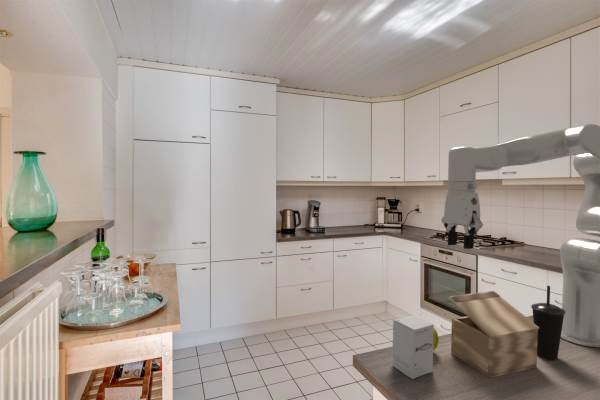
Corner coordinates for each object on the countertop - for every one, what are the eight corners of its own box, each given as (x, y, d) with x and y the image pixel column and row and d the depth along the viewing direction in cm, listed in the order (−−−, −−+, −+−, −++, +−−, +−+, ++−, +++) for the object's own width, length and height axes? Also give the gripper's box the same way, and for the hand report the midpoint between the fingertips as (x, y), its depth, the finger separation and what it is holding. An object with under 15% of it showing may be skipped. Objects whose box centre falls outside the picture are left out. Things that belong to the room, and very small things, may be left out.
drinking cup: (527, 356, 91) (529, 286, 91) (532, 346, 97) (534, 280, 96) (562, 366, 86) (565, 292, 85) (565, 355, 92) (567, 285, 91)
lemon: (440, 357, 90) (440, 329, 90) (419, 355, 91) (419, 327, 91) (436, 348, 96) (436, 321, 95) (416, 346, 97) (416, 320, 96)
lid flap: (492, 292, 99) (493, 290, 98) (538, 329, 86) (539, 327, 85) (448, 298, 93) (449, 296, 93) (490, 338, 80) (491, 336, 80)
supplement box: (412, 380, 80) (413, 329, 79) (391, 365, 86) (392, 318, 86) (433, 372, 83) (434, 324, 83) (411, 359, 90) (412, 314, 89)
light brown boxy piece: (493, 344, 98) (494, 311, 98) (536, 366, 86) (537, 329, 85) (451, 352, 93) (451, 318, 93) (490, 377, 81) (491, 338, 80)
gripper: (495, 188, 92) (494, 251, 93) (449, 188, 108) (448, 241, 109) (475, 187, 90) (473, 252, 90) (431, 188, 106) (430, 242, 107)
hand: (460, 246), depth 100 cm, fingers open, 5 cm apart
